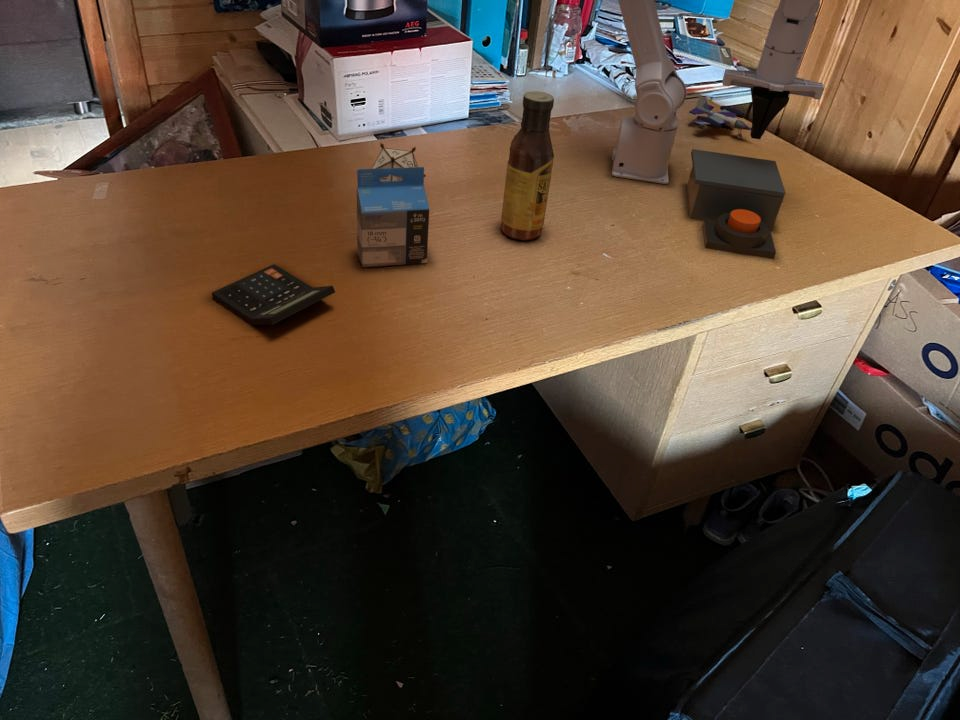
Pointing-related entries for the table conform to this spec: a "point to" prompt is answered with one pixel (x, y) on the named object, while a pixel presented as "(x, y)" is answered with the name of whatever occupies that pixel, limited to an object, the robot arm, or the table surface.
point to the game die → (394, 161)
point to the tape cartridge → (392, 217)
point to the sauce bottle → (529, 170)
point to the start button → (744, 221)
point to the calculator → (269, 296)
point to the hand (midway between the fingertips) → (755, 136)
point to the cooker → (729, 202)
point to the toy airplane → (719, 117)
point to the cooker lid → (737, 173)
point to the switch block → (738, 238)
